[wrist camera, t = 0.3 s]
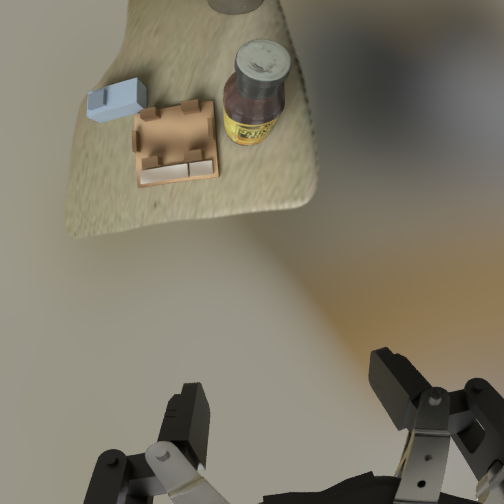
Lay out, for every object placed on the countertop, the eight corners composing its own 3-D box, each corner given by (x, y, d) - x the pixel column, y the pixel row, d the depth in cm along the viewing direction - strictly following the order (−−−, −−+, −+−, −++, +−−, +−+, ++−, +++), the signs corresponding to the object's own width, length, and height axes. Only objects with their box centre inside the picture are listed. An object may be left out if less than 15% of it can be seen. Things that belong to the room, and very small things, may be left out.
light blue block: (101, 100, 33) (84, 90, 27) (146, 88, 33) (134, 74, 27) (100, 123, 33) (83, 115, 28) (146, 111, 34) (133, 100, 28)
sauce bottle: (238, 155, 36) (237, 114, 16) (217, 118, 34) (197, 49, 15) (279, 134, 35) (320, 80, 16) (258, 98, 34) (276, 20, 15)
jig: (136, 116, 34) (128, 110, 30) (213, 103, 34) (210, 94, 30) (140, 187, 36) (131, 187, 32) (219, 177, 36) (216, 175, 33)
